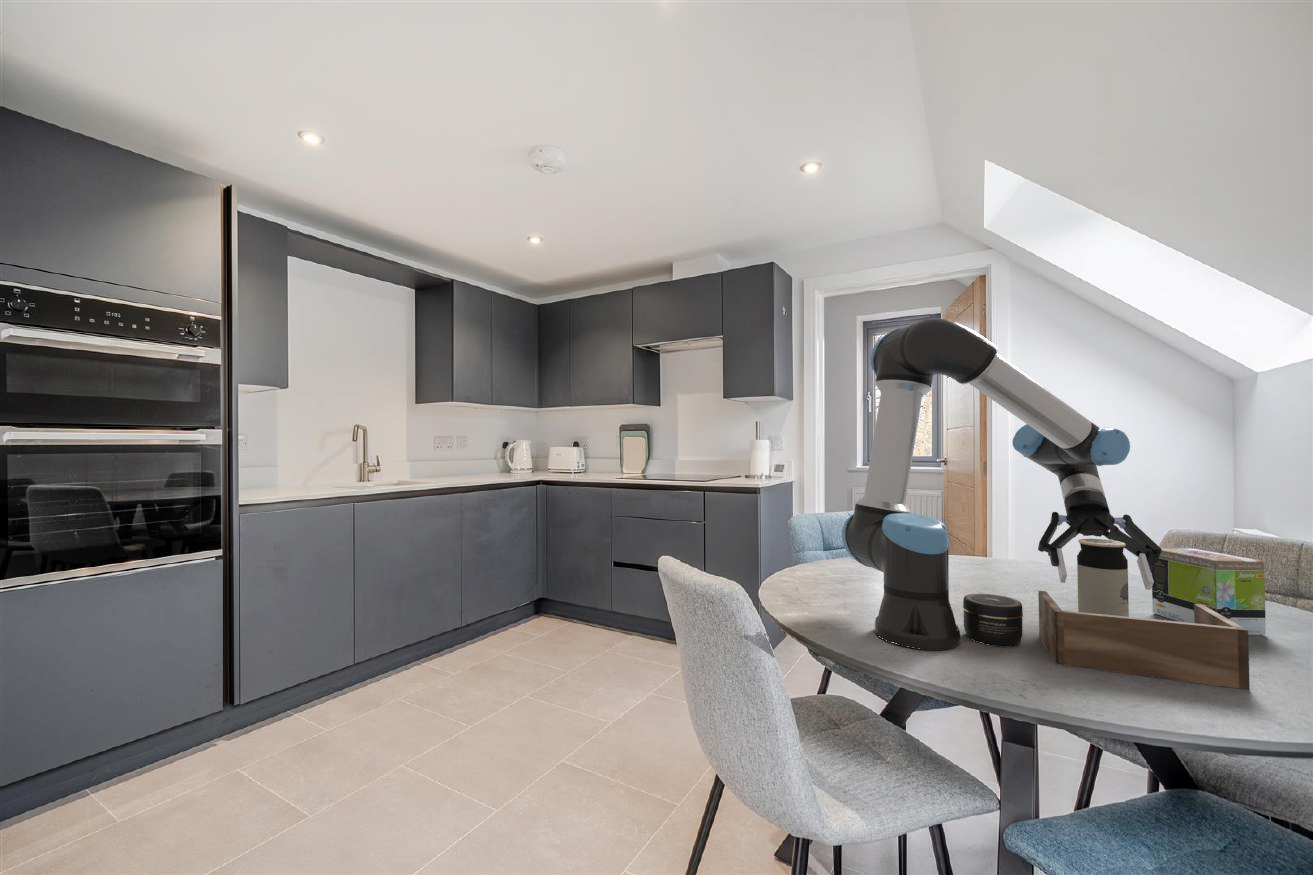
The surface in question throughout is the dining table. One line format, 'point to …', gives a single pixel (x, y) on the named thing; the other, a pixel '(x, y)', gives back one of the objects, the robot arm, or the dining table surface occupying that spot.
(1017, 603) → the jar
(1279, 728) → the dining table surface
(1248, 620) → the tea box
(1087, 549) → the travel mug
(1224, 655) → the walnut crate
